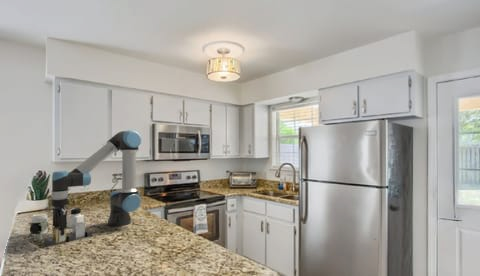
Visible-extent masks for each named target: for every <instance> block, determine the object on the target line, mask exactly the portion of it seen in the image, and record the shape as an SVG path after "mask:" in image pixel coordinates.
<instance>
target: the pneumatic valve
mask: <svg viewBox="0 0 480 276" xmlns="http://www.w3.org/2000/svg"><path fill="white" fill-rule="evenodd" d="M48 222H49V221H48ZM48 222H47V219H38V220H36V221H34V222H32V221H31V223H30V226H29V232H30V235H31V234H35V235H34V236H33V237H34V238H33V241H42V240H44V237H43V236H44V235H43V233H42V232H43V231H45V230H46V228H47V227H49V226H48V225H49V224H48ZM40 233H41V234H40Z"/></svg>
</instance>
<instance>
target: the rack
mask: <svg viewBox="0 0 480 276" xmlns="http://www.w3.org/2000/svg"><path fill="white" fill-rule="evenodd" d="M93 235H94V234H93V231H92V230H89V229H87V228H85V237H82V238H78V239H76V235H74V234H72V232H66V242H62V243H57V244H56V240H55V239H53V237H49V236H48V237H43V244H44V245H47V246H48V247H53V246H58V245H62V244H65V243H69V242H74V241H77V240H81V239H85V238H91V237H93Z"/></svg>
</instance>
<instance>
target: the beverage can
mask: <svg viewBox="0 0 480 276" xmlns="http://www.w3.org/2000/svg"><path fill="white" fill-rule="evenodd" d="M38 219H47V222H49V219H48V214H47V213H37V214H33V215H32V217H31V223H32V222H34V221H36V220H38ZM48 227H49V226H48ZM48 227H47V228H46V230H45V231H43V232H42V233H43V236H44V235H46V234H48V232H49V231H48V229H49V228H48ZM40 234H41V233H40ZM30 235H31V236H33V237H34V235H35V234H30Z"/></svg>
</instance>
